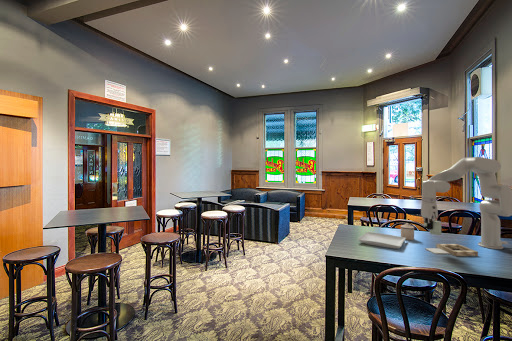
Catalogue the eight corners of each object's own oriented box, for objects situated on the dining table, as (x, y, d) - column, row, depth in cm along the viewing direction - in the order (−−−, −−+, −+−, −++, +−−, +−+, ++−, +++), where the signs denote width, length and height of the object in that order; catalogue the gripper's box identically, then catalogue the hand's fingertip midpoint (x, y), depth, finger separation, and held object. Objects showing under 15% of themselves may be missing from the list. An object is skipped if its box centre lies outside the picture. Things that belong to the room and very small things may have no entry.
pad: (439, 249, 167) (439, 248, 167) (449, 253, 158) (449, 252, 158) (425, 249, 167) (425, 248, 167) (434, 253, 158) (434, 252, 158)
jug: (436, 232, 165) (437, 220, 165) (443, 235, 159) (443, 222, 159) (421, 232, 165) (421, 220, 165) (427, 234, 159) (427, 222, 159)
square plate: (400, 251, 163) (400, 245, 163) (356, 244, 179) (356, 238, 179) (406, 242, 184) (406, 236, 184) (366, 236, 201) (366, 231, 201)
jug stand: (457, 247, 170) (457, 244, 170) (478, 256, 154) (478, 251, 154) (436, 247, 170) (436, 243, 170) (454, 255, 154) (454, 251, 154)
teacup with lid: (416, 240, 187) (416, 224, 186) (403, 240, 188) (403, 224, 188) (409, 236, 198) (409, 221, 198) (397, 235, 200) (397, 221, 200)
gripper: (443, 201, 154) (443, 232, 154) (426, 198, 170) (426, 226, 170) (431, 201, 154) (430, 231, 154) (415, 198, 170) (415, 226, 170)
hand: (428, 228), depth 162 cm, fingers closed on jug
